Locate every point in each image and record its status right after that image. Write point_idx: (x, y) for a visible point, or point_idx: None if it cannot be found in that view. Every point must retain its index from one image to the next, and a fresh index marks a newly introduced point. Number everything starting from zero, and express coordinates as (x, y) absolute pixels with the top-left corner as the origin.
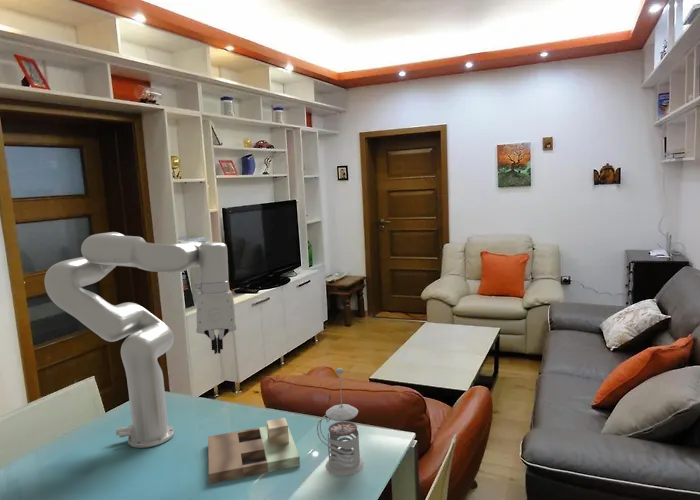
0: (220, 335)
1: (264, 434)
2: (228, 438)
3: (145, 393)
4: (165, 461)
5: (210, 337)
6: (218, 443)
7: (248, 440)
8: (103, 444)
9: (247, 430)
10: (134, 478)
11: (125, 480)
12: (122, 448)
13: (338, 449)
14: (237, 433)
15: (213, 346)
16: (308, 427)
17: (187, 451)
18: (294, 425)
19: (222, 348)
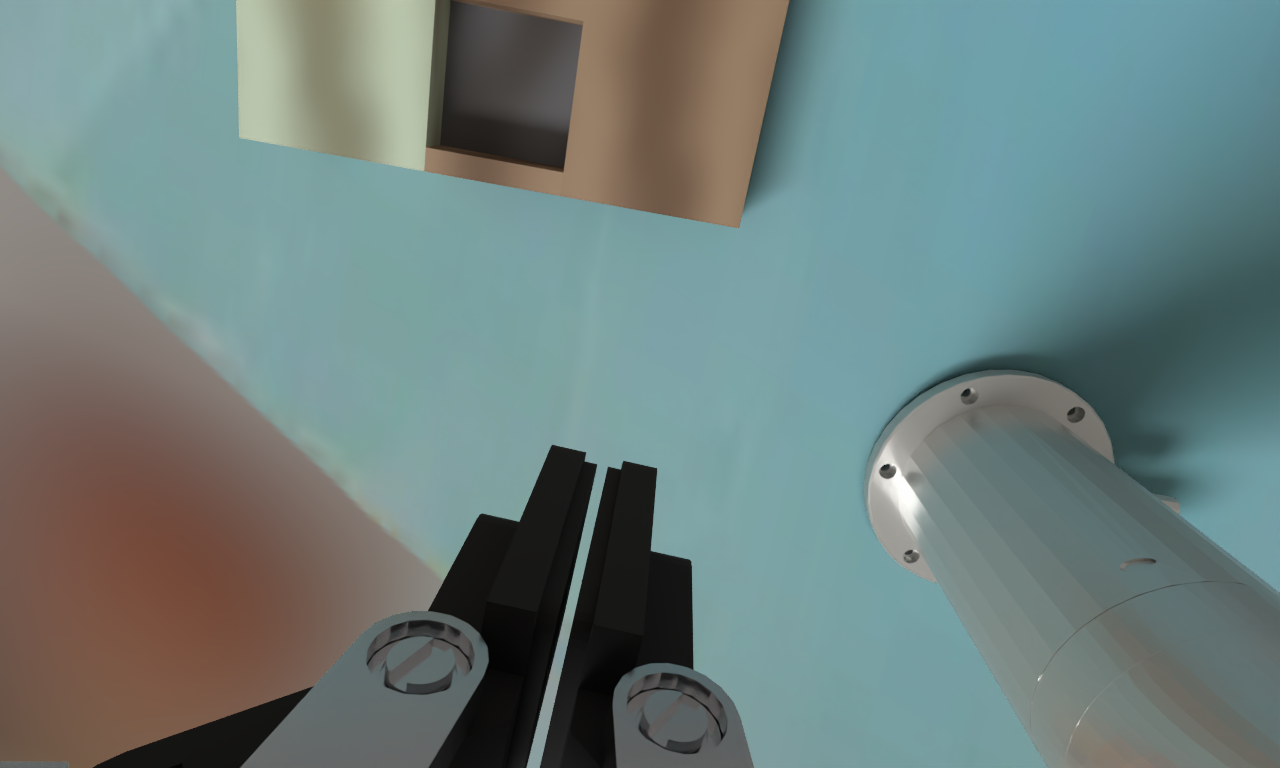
0: (420, 700)
1: (408, 45)
2: (632, 126)
3: (1220, 571)
4: (992, 158)
5: (729, 734)
6: (704, 91)
7: (514, 132)
8: (1201, 531)
9: (500, 172)
10: (1191, 49)
11: (1237, 54)
12: (1137, 438)
13: None
14: (566, 166)
15: (654, 583)
16: (134, 109)
17: (857, 211)
18: (216, 186)
19: (486, 515)
